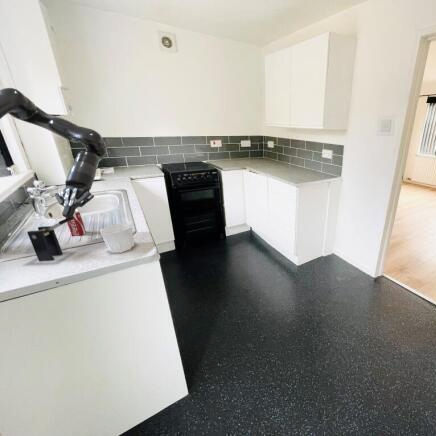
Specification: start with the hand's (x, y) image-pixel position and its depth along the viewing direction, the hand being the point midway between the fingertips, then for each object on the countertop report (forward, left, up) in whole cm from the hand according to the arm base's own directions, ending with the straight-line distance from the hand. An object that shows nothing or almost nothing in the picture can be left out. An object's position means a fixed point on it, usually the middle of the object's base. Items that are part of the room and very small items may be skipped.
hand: (66, 216), depth 87 cm
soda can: (-17, +22, -17) cm, 33 cm away
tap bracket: (-10, -1, -17) cm, 20 cm away
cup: (+12, +5, -17) cm, 22 cm away
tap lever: (-5, -1, -5) cm, 7 cm away
